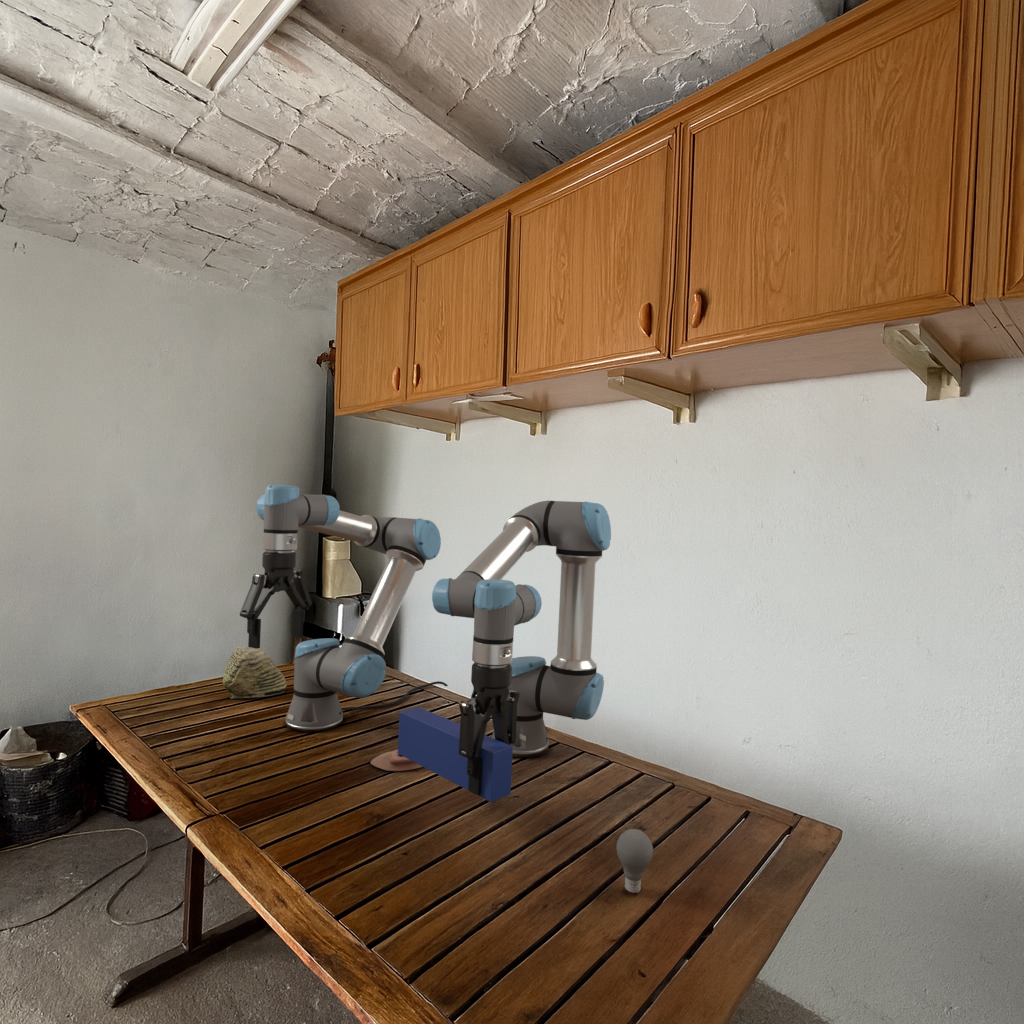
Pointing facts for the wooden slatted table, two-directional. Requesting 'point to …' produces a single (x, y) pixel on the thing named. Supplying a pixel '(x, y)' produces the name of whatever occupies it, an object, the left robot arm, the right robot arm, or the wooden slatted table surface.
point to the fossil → (252, 674)
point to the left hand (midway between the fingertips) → (276, 642)
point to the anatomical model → (394, 762)
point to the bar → (453, 752)
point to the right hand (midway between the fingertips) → (486, 787)
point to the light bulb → (634, 857)
